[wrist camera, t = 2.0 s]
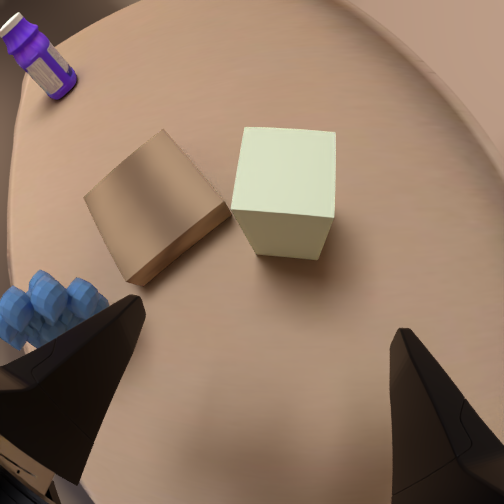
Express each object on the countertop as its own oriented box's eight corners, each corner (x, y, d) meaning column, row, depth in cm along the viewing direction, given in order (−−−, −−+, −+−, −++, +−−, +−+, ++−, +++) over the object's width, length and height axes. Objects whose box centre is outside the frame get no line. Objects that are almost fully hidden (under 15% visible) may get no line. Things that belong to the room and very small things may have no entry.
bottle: (49, 90, 35) (-6, 32, 19) (74, 68, 36) (23, 5, 19) (55, 107, 34) (-9, 42, 17) (82, 82, 34) (23, 11, 17)
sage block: (317, 260, 23) (334, 217, 14) (255, 254, 24) (230, 209, 14) (321, 202, 24) (335, 132, 15) (263, 197, 25) (244, 126, 15)
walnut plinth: (143, 286, 25) (125, 281, 22) (100, 208, 27) (83, 197, 24) (232, 214, 25) (224, 201, 22) (174, 145, 28) (163, 128, 25)
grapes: (125, 255, 26) (32, 212, 14) (147, 324, 24) (47, 320, 12) (46, 300, 26) (-41, 283, 14) (62, 360, 24) (-30, 364, 13)
